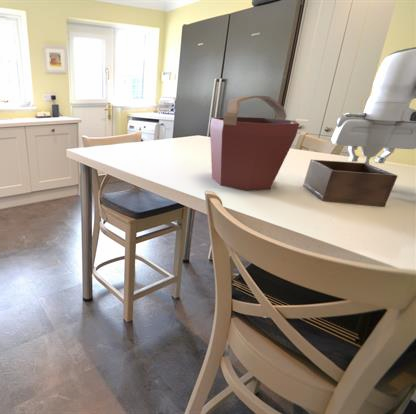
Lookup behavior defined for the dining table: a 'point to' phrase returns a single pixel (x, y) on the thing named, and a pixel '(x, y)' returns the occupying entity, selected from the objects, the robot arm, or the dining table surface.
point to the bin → (349, 182)
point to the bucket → (250, 146)
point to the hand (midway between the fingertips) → (365, 162)
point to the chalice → (376, 140)
